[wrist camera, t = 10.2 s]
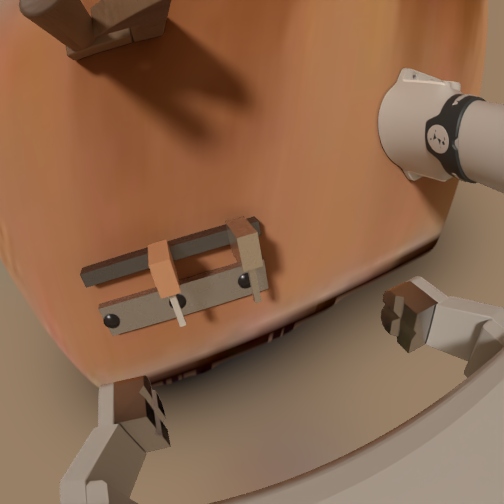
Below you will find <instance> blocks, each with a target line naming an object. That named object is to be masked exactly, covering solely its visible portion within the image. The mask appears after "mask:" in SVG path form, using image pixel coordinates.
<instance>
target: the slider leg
mask: <svg viewBox="0 0 504 504" xmlns="http://www.w3.org/2000/svg"><path fill="white" fill-rule="evenodd" d="M148 265H149V268H150V271H151V274H152V277H153V279H154V282H155V284H156V287H157V290H158V292H159V295H160V297H161V299H162V298H165V297H169V298H170V301H171V304H172V306H173V309H174V312H175V314H176V317H177V319H178V322H179V324H180V327H182V326H185V325H186V321H185V318H184V315H183V313H182V310H181V307H180V305H179V302H178V299H177V296H176V294H179V293H181V290H180V285H179V281H178V276H177V271H176V268H175V264H174V261H173V258H172V255H171V252H170V249H169V246H168V242H167V239H166V240H163V241H159V242H156V243H153V244H150V245H148Z"/></svg>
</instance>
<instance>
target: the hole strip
mask: <svg viewBox="0 0 504 504" xmlns="http://www.w3.org/2000/svg"><path fill="white" fill-rule="evenodd" d="M262 261H263V266H262V267H259V268H255V269H256V275H257V280H258V286H259V291H263V290H266V289H269V287H268V281H267V275H266V269H265V263H264V259H263V257H262ZM179 285H180V290H181V293H179V294H176V296H177V299H178V302H179V305H180V307H181V310H182V313H183V315H186V314H190V313H193V312H196V311H200V310H203V309H206V308H209V307H212V306H216V305H219V304H222V303H225V302H228V301H232V300H235V299H238V298H241V297H244V296H247V295H250V294H252V290H251V285H250V280H249V275H248V271H246V272H243V270H242V268H241V267H240V265H239V263H235V264H232V265H228V266H225V267H222V268H218V269H215V270H212V271H208V272H205V273H202V274H199V275H195V276H192V277H189V278H185V279H182V280H179ZM99 311H100V313H101V315H102V317H103V319H104V324H105V325H106V326H107V327H108V328H109V330H110V332H111V334H112V336H113V335H117V334H121V333H124V332H128V331H131V330H135V329H139V328H142V327H146V326H149V325H152V324H156V323H159V322H163V321H166V320H170V319H173V318H176V314H175V312H174V309H173V306H172V304H171V301H170V298H169V297H165V298H162V299H161V297H160V295H159V292H158V290H157V287H155V288H152V289H149V290H145V291H142V292H139V293H135V294H132V295H129V296H125V297H122V298H118V299H115V300H112V301H108V302H105V303H102V304H99Z"/></svg>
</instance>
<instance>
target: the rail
mask: <svg viewBox="0 0 504 504" xmlns="http://www.w3.org/2000/svg"><path fill="white" fill-rule="evenodd" d="M225 223H226V225H222V226H219V227H215V228H212V229H208V230H205V231H201V232H198V233H194V234H191V235H188V236H184V237H181V238H177V239H174V240H171V241H167V242H168V246H169V249H170V252H171V255H172V258H173V261H175V260H178V259H181V258H185V257H188V256H192V255H195V254H198V253H202V252H205V251H208V250H212V249H215V248H219V247H222V246H225V245H229V244H230V246H231V250H232V253H233V255H234V257H235V258H236V260H237V262H238V263H239V265H240V267H241V268H242V270H243V272H246V271H248V275H249V280H250V285H251V290H252V295H253V300H254V302H255V303H258V302H261V296H260V291H259V286H258V280H257V275H256V269H255V268H259V267H262V266H263V261H262V256H261V250H260V244H259V238H258V236H260V235H261V232H260V226H259V221H258V220H257V219H256V218H255V217H251V218H247V219H246V218H245V217H244V216H243V217H239V218H235V219H232V220H228V221H225ZM148 268H149V265H148V247H147V248H144V249H141V250H138V251H134V252H131V253H128V254H125V255H122V256H118V257H115V258H112V259H109V260H106V261H103V262H99V263H96V264H93V265H90V266H87V267H84V268H82V270H81V273H80V276H81V278H82V280H83V282H84V284H85V286H86V287H90V286H93V285H96V284H99V283H103V282H106V281H109V280H112V279H115V278H119V277H122V276H125V275H129V274H132V273H135V272H138V271H142V270H145V269H148Z"/></svg>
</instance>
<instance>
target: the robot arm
mask: <svg viewBox="0 0 504 504" xmlns="http://www.w3.org/2000/svg"><path fill="white" fill-rule="evenodd" d="M460 91H461V85H460V83H457V82H453V81H442V80H440V79H437V78H435V77H432V76H429V75H427V74H424V73H421V72H419V71H416V70H413V69H409V68H404V69H402V71H401V73H400V75H399V78H398V80H397V82H396V84H395V85H394V86H393V87H392V88H391V89H390V90H389V91H388V92H387V94H386V95H385V97H384V99H383V101H382V104H381V107H380V111H379V118H378V129H379V136H380V140H381V144H382V146H383V149H384V151H385V152H386V154H387V156H388V157H389V158H390V159H391V160H392V161H393V162H394V163H395V164H397V165H398V166H400V167H401V168H402V170H403V172H404V173H405V175H406V177H407V178H408V179H409V180H413V181H415V180H418V179H419V178H421V177H423V176H425V177H428V178H432V179H435V180H439V181H442V182H446V181H447V180H448V179H450V178H452V177H455V178H457V179H459V180H461V181H465V182H470V183H477V182H478V183H480V184H483V185H485V186H488V187H490V188H492V189H495V190H497V191H500V192H502V193H504V104H499V103H493V102H487V101H485V100H484V99H482V98H480V97H477V96H474V95H469V94H466V95H465V94H463V93H461V92H460ZM383 302H384V303H385V306H384V307H383V309H382V311H381V320H382V324H383V326H384V328H385V330H386V331H387V332H388V333H389V334H390V335H394V336H397V342H398V343H399V344H400V345H401V346H402V347H403V348H404V349H405V350H406V351H407V352H408V353H410V352H412V351H414V350H415V349H417V348H419V347H421V346H422V345H424V344H426V345H428V346H431V347H433V348H435V349H438V350H441V351H443V352H446V353H448V354H451V355H453V356H456V357H458V358H461V359H464V360H466V361H468V364H467V366H466V368H465V370H464V374H465V376H466V377H467V379H466V380H464V381H463V382H462V383H461V384H459V385H458V386H457V387H455V388H454V389H453V390H452V391H450V392H449V393H447V394H446V395H444V396H443V397H442V398H440V399H439V400H438V401H436V402H435V403H433V404H432V405H430V406H429V407H428V408H426V409H424V410H423V411H421V412H420V413H418V414H417V415H416V416H414V417H412V418H411V419H409V420H407V421H406V422H404V423H403V424H401V425H399V426H398V427H396V428H394V429H393V430H391V431H389V432H387V433H386V434H384V435H382V436H380V437H379V438H377V439H375V440H374V441H372V442H370V443H368V444H366V445H364V446H362V447H360V448H358V449H356V450H354V451H352V452H350V453H348V454H346V455H344V456H342V457H340V458H338V459H336V460H333V461H331V462H329V463H327V464H325V465H322V466H320V467H318V468H316V469H313V470H311V471H308V472H306V473H303V474H301V475H298V476H296V477H293V478H291V479H288V480H285V481H283V482H280V483H277V484H274V485H271V486H268V487H265V488H262V489H259V490H256V491H253V492H250V493H246V494H243V495H239V496H236V497H232V498H229V499H225V500H221V501H217V502H213V503H209V504H504V308H503V307H499V306H494V305H490V304H485V303H481V302H476V301H472V300H467V299H462V298H458V297H453V296H450V297H447V296H446V295H444V294H443V293H442V292H441V291H439V290H438V289H437V288H435V287H434V286H433V285H431V284H430V283H429V282H427V281H426V280H425V279H423V278H422V277H419V276H416V277H414V278H412V279H410V280H408V281H406V282H404V283H402V284H400V285H397V286H395V287H393V288H391V289H389V290H387V291H385V293H384V294H383ZM165 419H166V417H165V412H164V408H163V405H162V402H161V400H160V398H159V396H158V394H157V392H156V391H153V390H152V389H151V383H150V381H149V380H148V378H147V376H140V377H136V378H131V379H126V380H122V381H117V382H114V383H109V384H104V385H101V386H100V388H99V405H98V427H97V428H94V429H93V430H92V432H91V434H90V435H89V437H88V438H87V440H86V441H85V443H84V445H83V446H82V448H81V449H80V451H79V452H78V454H77V455H76V457H75V459H74V460H73V462H72V463H71V465H70V467H69V468H68V470H67V471H66V473H65V475H64V476H63V478H62V480H61V481H60V504H138V503H136V502H134V501H133V500H131V499H130V498H129V497H130V495H131V492H132V490H133V487H134V484H135V482H136V479H137V477H138V474H139V471H140V469H141V467H142V464H143V461H144V459H145V456H146V452H151V451H155V450H159V449H163V448H167V447H170V440H169V434H168V429H167V428H166V427H165V425H164V424H163V422H164V420H165Z"/></svg>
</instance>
